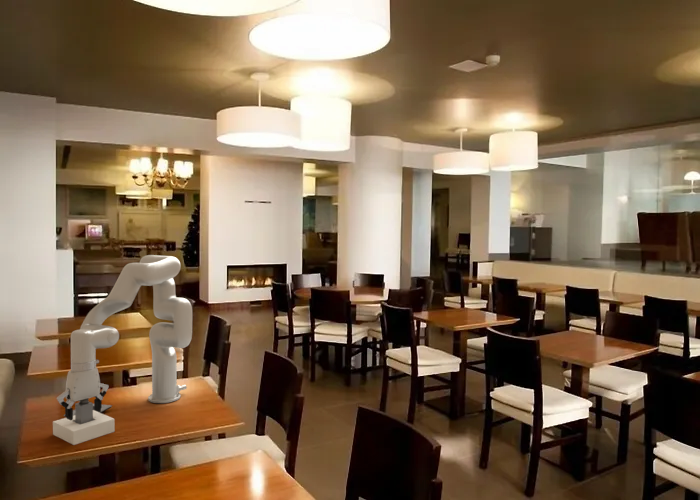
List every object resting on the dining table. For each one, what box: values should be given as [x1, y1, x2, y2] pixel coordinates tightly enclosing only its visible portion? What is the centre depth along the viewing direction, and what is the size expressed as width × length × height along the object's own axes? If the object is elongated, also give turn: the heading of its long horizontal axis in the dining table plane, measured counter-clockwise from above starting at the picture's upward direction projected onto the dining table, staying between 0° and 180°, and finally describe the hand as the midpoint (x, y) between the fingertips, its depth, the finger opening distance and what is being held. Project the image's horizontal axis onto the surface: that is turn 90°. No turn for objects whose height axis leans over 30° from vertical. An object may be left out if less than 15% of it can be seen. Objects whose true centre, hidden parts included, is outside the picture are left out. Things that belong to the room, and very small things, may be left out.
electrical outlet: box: [63, 403, 113, 418], centre depth 196 cm, size 13×10×2 cm
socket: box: [52, 410, 116, 446], centre depth 179 cm, size 14×14×4 cm
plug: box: [74, 398, 94, 424], centre depth 178 cm, size 4×4×12 cm
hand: (83, 415), depth 178 cm, fingers open, 9 cm apart
